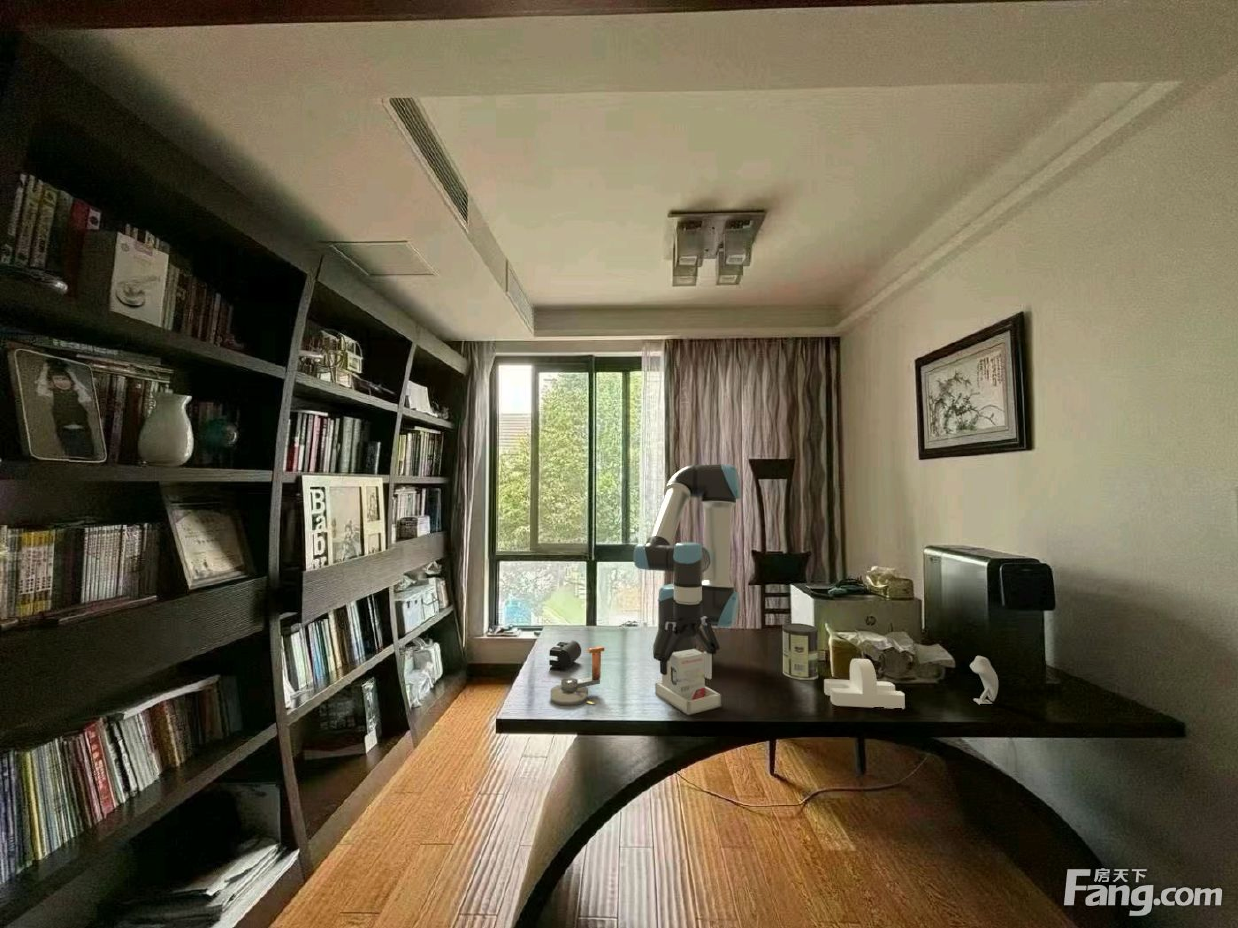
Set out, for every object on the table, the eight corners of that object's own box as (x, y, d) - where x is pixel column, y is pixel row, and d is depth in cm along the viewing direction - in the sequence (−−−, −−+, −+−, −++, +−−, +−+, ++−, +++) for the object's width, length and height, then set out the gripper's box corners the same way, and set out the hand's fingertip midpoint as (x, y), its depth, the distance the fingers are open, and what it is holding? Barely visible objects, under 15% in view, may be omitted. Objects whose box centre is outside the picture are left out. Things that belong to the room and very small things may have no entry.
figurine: (1004, 709, 132) (1003, 662, 133) (981, 707, 133) (980, 660, 134) (988, 697, 140) (987, 652, 140) (966, 696, 140) (965, 651, 141)
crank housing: (578, 688, 143) (578, 680, 144) (598, 704, 133) (598, 696, 133) (544, 694, 139) (544, 687, 139) (562, 712, 128) (562, 704, 128)
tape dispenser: (906, 709, 132) (905, 667, 132) (834, 706, 134) (833, 664, 134) (890, 694, 142) (889, 655, 142) (823, 691, 143) (822, 652, 144)
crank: (565, 692, 134) (565, 655, 134) (558, 687, 138) (559, 651, 138) (607, 684, 140) (607, 648, 140) (599, 678, 144) (599, 644, 144)
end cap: (570, 673, 155) (570, 650, 156) (548, 670, 157) (548, 648, 157) (581, 662, 165) (581, 640, 165) (560, 660, 167) (561, 638, 167)
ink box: (694, 691, 140) (694, 647, 141) (706, 698, 136) (706, 653, 136) (667, 697, 136) (668, 652, 137) (678, 704, 132) (678, 657, 132)
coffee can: (809, 667, 161) (808, 622, 162) (824, 680, 151) (824, 631, 152) (777, 668, 161) (777, 622, 161) (790, 680, 151) (790, 632, 151)
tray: (686, 686, 145) (686, 676, 145) (721, 706, 132) (721, 694, 133) (655, 694, 140) (655, 682, 140) (688, 714, 127) (688, 702, 127)
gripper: (714, 594, 147) (714, 669, 146) (640, 603, 134) (640, 685, 133) (732, 599, 140) (732, 678, 139) (656, 609, 128) (656, 695, 127)
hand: (687, 681), depth 136 cm, fingers open, 13 cm apart
